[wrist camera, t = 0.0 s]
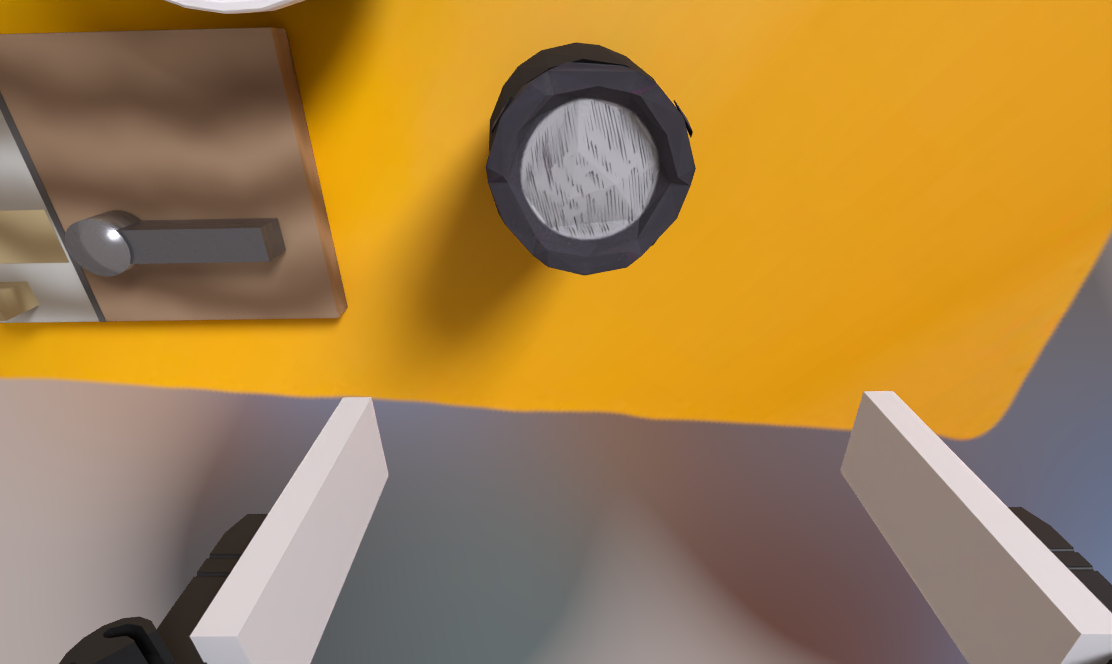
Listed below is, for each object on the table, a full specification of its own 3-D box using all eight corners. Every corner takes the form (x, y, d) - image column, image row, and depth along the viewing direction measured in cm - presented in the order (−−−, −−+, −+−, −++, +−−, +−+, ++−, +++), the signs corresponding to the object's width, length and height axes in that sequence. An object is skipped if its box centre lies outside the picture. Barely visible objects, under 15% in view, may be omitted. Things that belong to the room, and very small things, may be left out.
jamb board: (-133, 39, 35) (-229, 37, 31) (285, 28, 35) (246, 25, 30) (16, 312, 44) (-43, 339, 40) (347, 307, 44) (324, 334, 40)
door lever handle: (110, 263, 40) (80, 277, 37) (87, 210, 38) (54, 221, 35) (289, 260, 39) (270, 274, 37) (274, 206, 38) (254, 217, 35)
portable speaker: (598, 207, 40) (624, 325, 22) (489, 136, 38) (424, 207, 20) (668, 102, 36) (763, 147, 19) (553, 18, 34) (542, -19, 17)
